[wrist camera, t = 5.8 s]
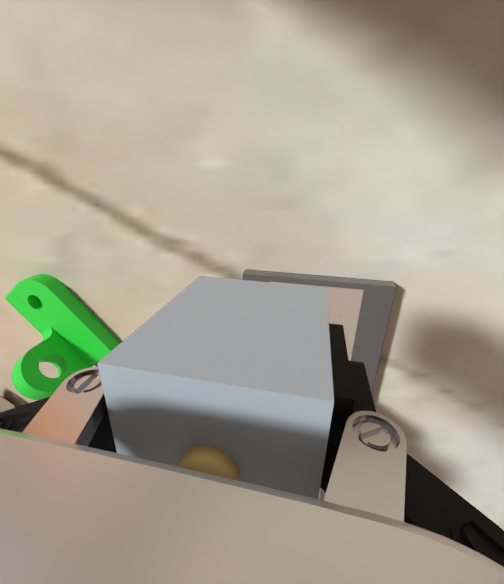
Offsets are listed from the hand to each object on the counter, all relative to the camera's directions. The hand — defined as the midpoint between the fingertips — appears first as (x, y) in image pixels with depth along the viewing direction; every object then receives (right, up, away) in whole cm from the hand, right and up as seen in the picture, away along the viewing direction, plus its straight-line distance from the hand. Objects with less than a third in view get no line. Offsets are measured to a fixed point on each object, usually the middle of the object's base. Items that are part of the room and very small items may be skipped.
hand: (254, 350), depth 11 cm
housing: (0, 0, +1) cm, 1 cm away
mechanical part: (-22, -1, +23) cm, 32 cm away
